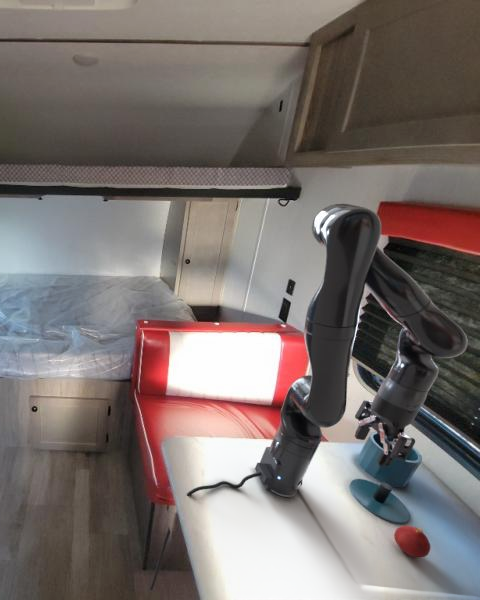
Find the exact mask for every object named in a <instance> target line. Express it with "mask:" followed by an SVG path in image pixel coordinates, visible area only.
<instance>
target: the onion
mask: <svg viewBox="0 0 480 600" xmlns="http://www.w3.org/2000/svg"><path fill="white" fill-rule="evenodd" d="M393 536H394V541H395V543H396V544H397V546H398V547H399V548H400V550H401V551H402V552H403V553H404V554H406V555H408V556H410V557H414V558H418V559H420V558H425V557H427V556H428V555H429V553H430V551H431V544H430V540H429V539H428V537H427V536H426V534H425V533H424V532H423V530H422V528H420V527H417V526H415V527H414V526H411V525H402V526H399V527H397V528H396V529H395V532H394V534H393Z"/></svg>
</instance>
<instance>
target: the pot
mask: <svg viewBox="0 0 480 600" xmlns="http://www.w3.org/2000/svg"><path fill="white" fill-rule="evenodd" d="M387 440H388V441H394V438H387ZM390 450H392V445H390ZM382 452H384V448H383V443H381V438H380V435H379V434H378V433H377V431H373V432H370V434H368V436H367V438H366V441H365V443H364V444H363V446H362V448H361V450H360V451H359V453H358V455H357V457H356V461H357V463H358V466H359V467H360V468H361V469H362V470H363V471H364V472H365V473H366V474H368V475H369V476H370V477H372V478H373V479H374V480H377V481H378V482H380V483H381V482H385V483H387V484H389V485H390V486H391V487H392V488H404V487H406V486H407V485H408V483H409V482H410V480H411V479H412V477H413V476H414V475H415V472H416V471H417V470H418V468H419V467H420V465H421V464H422V461H423V457H422V455H421V454H420V452H419V451H418V449H416V448H415V447H413V448H412V450H411V452H410V453H409V455H408V457H407V459H406V461H403V460H398V459H394V460H393V462H392V464H391V465H390V466H389V467H383V466H379V465H378V464H377V460H378V459H379V457H380V455H381V453H382ZM400 454H401V452H400Z"/></svg>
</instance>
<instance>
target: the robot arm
mask: <svg viewBox="0 0 480 600" xmlns="http://www.w3.org/2000/svg"><path fill="white" fill-rule="evenodd" d="M311 234H312V236H313V238H314V239H315V241H316V242H317V243H318V244H319V245H321V246H322V247H324V248H325V267H324V274H323V278H322V280H321V282H320V283H321V284H320V286H319V287H318V289H317V290H316V292H315V293H314V295H313V296H312V298H311V300H310V301H309V304H308V306H307V310H306V314H305V322H304V332H303V338H304V345H305V348H306V353H307V357H308V361H309V366H310V371H311V374H310V375H309V374H307V375H303V376H300V377H298V378H297V379H295V380H294V381H293V382H292V383H291V385H290V386H289V388H288V389H287V393H286V395H285V398H284V400H283V404H282V407H281V409H280V413H279V414H280V415H279V419H280V420H279V421H280V422H279V424H278V427H277V428H276V432H275V434H274V436H273V439H272V441H271V444H270V446H266V447H265V449H264V452H263V453H262V455H261V459H260V461H259V462H256V465H255V467H254V471H255V472H254V473H252V474H249V475H247V476H245V477H243V478H242V480H241V481H240V482H239V483H238V484H234V483H231V482H229V481H227V480H223V481H219V482H216V483H214V484H211V485H210V484H208V485H201V486H197V487H194V488H192V489H191V490H189V491H188V492H187V493H186V496H187V497H190V496H191V495H193V494H195V493H196V492H200V491H203V490H204V491H205V490H211V489H212V490H213V489H215V488H218V487H220V486H224V485H225V486H229V487H231V488H233V489H240V488H241V487H243V486H244V484H245V483H246V482H247V481H248V480H250V479H253V478H256V477H258V478H259V480H260V482H261V483H262V485H263V487H264V488H265V489H264V490H266V491H268V492H271V493H273V494H275V495H277V496H280V497H283V498H293V497H295V495H296V494H297V493H298V489H299V487H300V488H302V485H303V480H304V477H305V474H306V473H307V471H308V468H309V467H310V465H311V462H312V461H313V459H314V456H315V454H316V452H317V450H318V448H319V446H320V445H321V442H322V440H323V431H322V429H327V428H330V427H334V426H335V425H337V424H338V423H339V422H340V421H341V420H342V419H343V417H344V415H345V413H346V410H347V400H348V399H347V395H348V379H349V378H348V377H349V370H350V366H351V360H352V355H353V354H352V353H353V348H354V343H355V340H356V335H357V331H358V325H359V321H360V313H361V307H362V302H363V298H364V293H365V288H366V289H367V290H368V291H369V292H370V293H371V295H372V296H373V297H374V298H375V300H376V301H377V302H378V303H379V304H380V306H381V307H382V308H383V309H384V310H385V311H386V312H387V314H388V315H389V316H390V317H391V318H392V319H393V320H394V321H395V322H397V323H398V324H400V325H401V326H402V328H401V330H400V331H399V337H398V342H397V348H396V357H395V361H394V362H393V365H392V366H391V368H390V370H389V372H388V374H387V376H386V377H385V378H384V379H383V381H382V382H381V383H380V384H381V385H380V386H379V389H378V390H377V392H376V394H375V395H374V398H373V400H366V399H365V400H363V401H362V403H361V404H360V406H359V408H358V409H357V412H356V413H355V415H354V418H355V419H356V420H357V421H358V424H357V425H358V426H357V428H356V430H355V434H354V438H355V439H357V440H360V441H364V440H367V438H368V436H369V433H370V431H371V428H372V429H373V430H374V431H375V432H377V433H378V434H379V435H380V438H381V443H383V448H384V452H382V453H381V455H380V457H379V459H378V460H377V464H378V465H379V466H383V467H389V466H390V465H391V464H392V462H393V460H394V459H398V460H403V461H406V459H407V457H408V455H409V453H410V452H411V450H412V448H414V446H415V444H416V439H415V438H414V437H410V436H409V435H407V434H405V428H406V427H407V426H409V425H411V424H412V423H413V422H414V420H415V418H416V417H417V415H418V413H419V411H420V410H421V408H422V406H423V405H424V403H425V401H426V400H427V396H428V393H429V391H430V389H431V388H432V386H433V384H434V383H435V381H436V379H437V378H438V375H439V372H440V371H439V367H438V366H437V365H436V363H435V362H434V360H433V358H432V357H435V358H440V359H451V358H456V357H458V356H460V355H463V353H464V352H465V351H466V350H467V347H468V345H469V344H468V337H467V334H466V333H465V331H464V330H463V329H462V327H461V326H459V325H458V324H457V323H456V322H455V321H454V320H453V319H452V318H451V317H449V315H447V314H446V313H445V312H444V311H442V309H440V308H438V307H437V306H436V304H435V303H434V302H433V301H432V299H431V298H430V296H429V295H428V294H427V293H426V291H424V290H423V287H421V286H420V285H419V283H418V282H417V281H416V280H415V279H414V278H413V277H412V276H411V275H410V274H409V273H407V272H406V271H405V270H404V269H403V268H402V267H400V266H399V265H398V264H397V263H396V262H394V261H393V260H392V259H391V258H390V257H389V256H388V255H387V254H386V253H384V251H382V250H381V249H380V248H379V246H378V244H379V241H380V238H381V235H382V221H381V218H380V217H379V215H378V214H377V213H376V212H375V211H373V210H372V209H369V208H368V207H363V206H359V205H355V204H351V203H335V204H332V205H329V206H326V207H324V208H323V209H321V210H320V211H319V212H318V213H317V214H316V215H315V217H314V218H313V220H312V224H311ZM321 428H322V429H321ZM387 438H394V441H388V440H387ZM390 445H392V450H390ZM400 452H401V454H400ZM170 535H171V529H170V527H168V528H167V531H166V534H165V537H164V539H163V544H162V547H161V550H160V554H159V557H158V560H157V563H156V568H155V570H154V571H155V572H154V575H153V578H152V580H151V581H152V582H151V584H150V586H149V589H150V591H153V590H154V588H155V584H156V581H157V577H158V575H159V571H160V567H161V565H162V561H163V557H164V553H165V550H166V547H167V544H168V541H169V537H170Z"/></svg>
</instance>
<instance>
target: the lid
mask: <svg viewBox="0 0 480 600" xmlns="http://www.w3.org/2000/svg"><path fill="white" fill-rule="evenodd" d="M393 488H394V487H392V486H390V485H389V484H387V483H385V482H380V484H377V483H375V482H373V481H371V480H367V479H363V478H355V479H352V480H351V481H350V482H349V490H350V492H351V495H352V496H353V498H354V499H355V500H356V501H357V502H358V503H359V504H360V505H361V506H362V507H363V508H364V509H366V510H367V511H368V512H370V513H371V514H373V515H375V516H376V517H378V518H381V519H382V520H385V521H387V522H390V523H393V524H400V525H401V524H405V523H407V522H408V521H409V519H410V513H409V510H408V508H407V507H406V505H405V504H404V503H403V501H401V499H399V498H398V497H397V495H395V494H393V493H392V491H393Z"/></svg>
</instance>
